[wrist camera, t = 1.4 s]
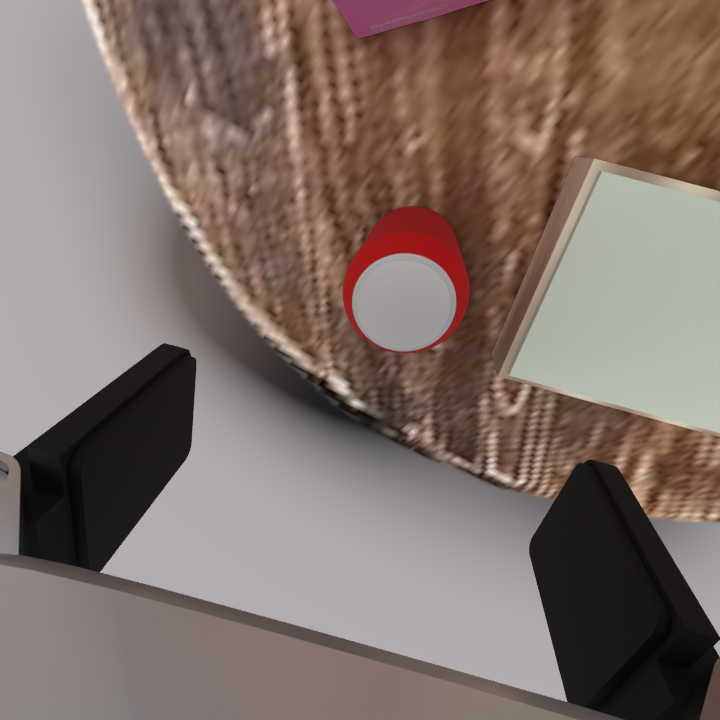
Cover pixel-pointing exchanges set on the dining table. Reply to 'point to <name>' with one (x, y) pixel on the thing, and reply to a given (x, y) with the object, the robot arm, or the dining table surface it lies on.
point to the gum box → (393, 13)
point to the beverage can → (407, 282)
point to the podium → (623, 297)
